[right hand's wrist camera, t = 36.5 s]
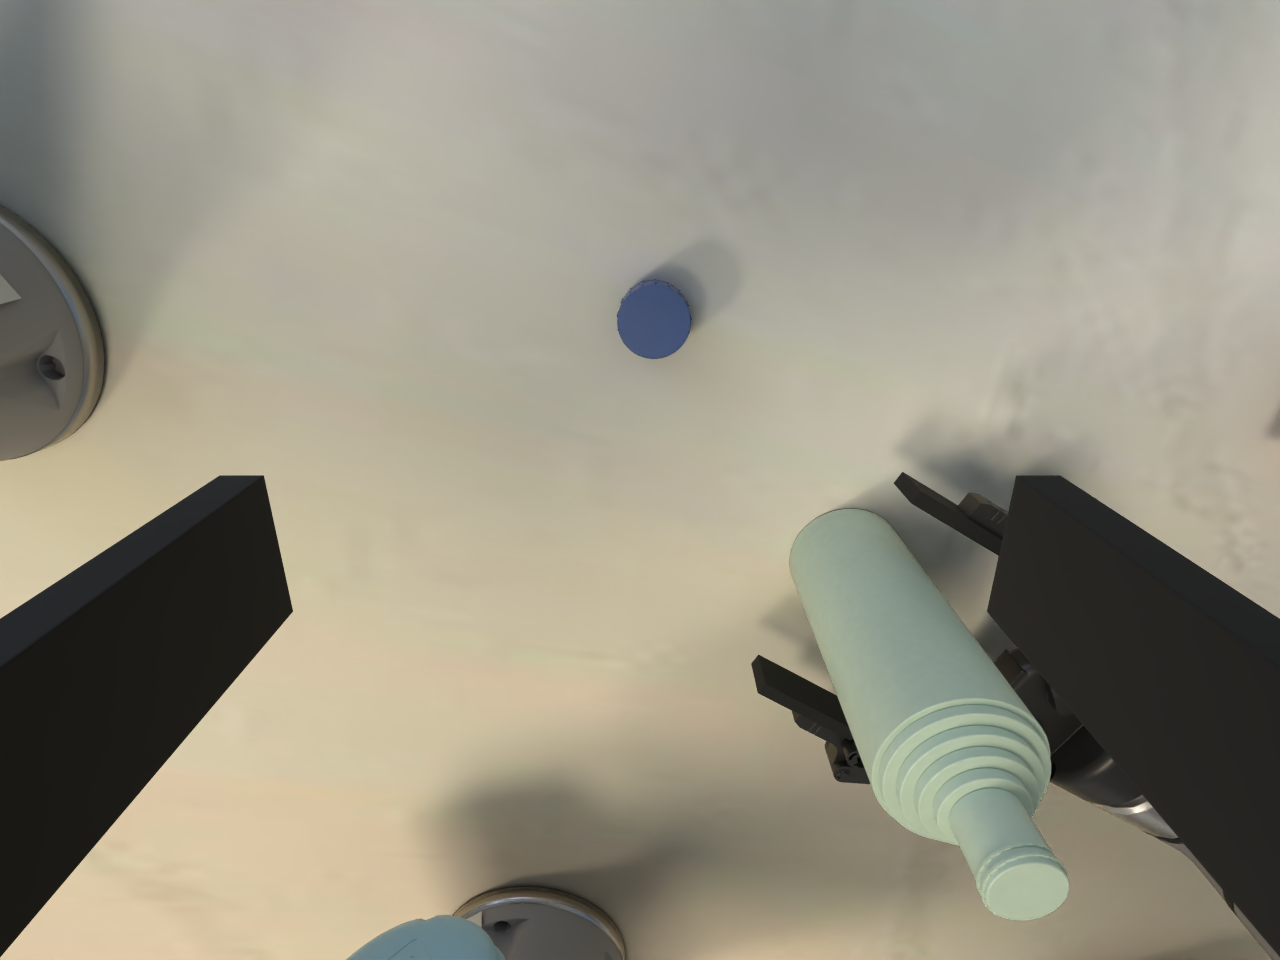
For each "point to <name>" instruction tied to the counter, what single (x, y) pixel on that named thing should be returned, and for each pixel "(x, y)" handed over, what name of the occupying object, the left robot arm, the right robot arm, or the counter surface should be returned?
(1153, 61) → the counter surface
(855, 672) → the bottle
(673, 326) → the cap
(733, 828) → the counter surface
